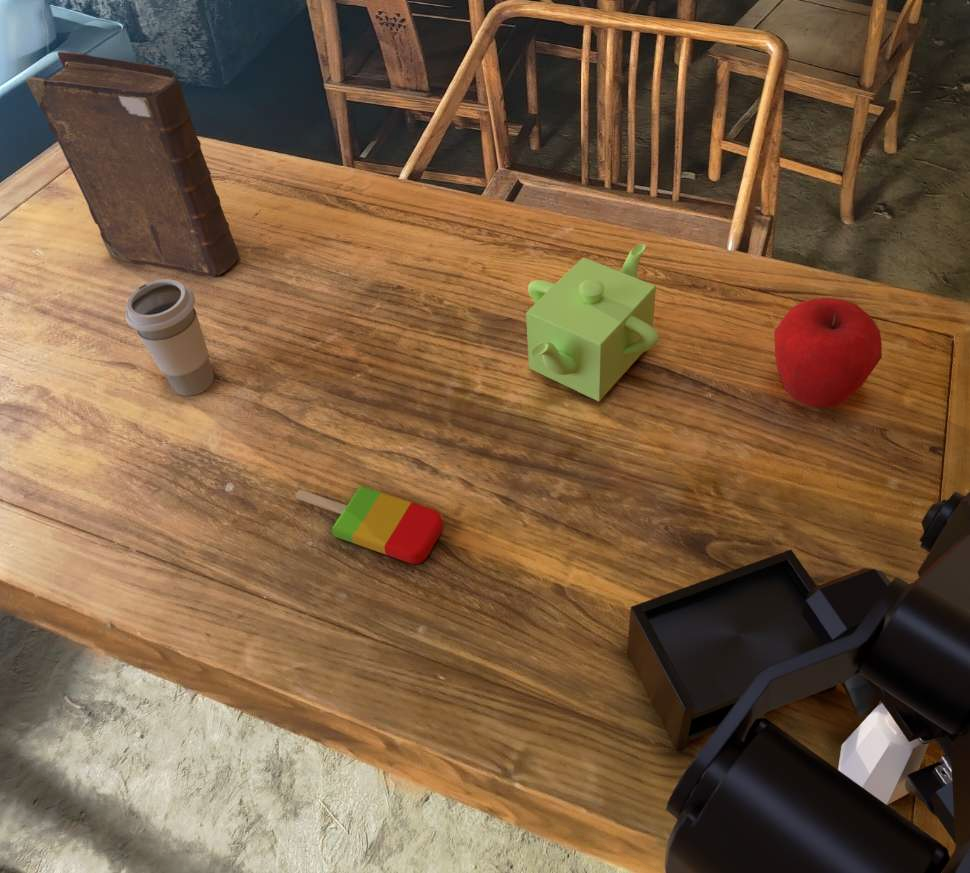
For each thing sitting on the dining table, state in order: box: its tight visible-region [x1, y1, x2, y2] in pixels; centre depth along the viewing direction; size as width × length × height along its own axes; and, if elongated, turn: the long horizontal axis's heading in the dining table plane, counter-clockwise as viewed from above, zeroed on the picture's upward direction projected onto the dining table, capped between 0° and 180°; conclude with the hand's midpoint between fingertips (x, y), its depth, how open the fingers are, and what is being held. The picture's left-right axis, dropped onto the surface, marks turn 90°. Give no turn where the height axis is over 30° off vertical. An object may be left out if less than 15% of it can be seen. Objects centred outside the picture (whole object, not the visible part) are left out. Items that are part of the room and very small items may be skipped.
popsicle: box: [294, 485, 444, 565], centre depth 87 cm, size 6×15×2 cm, turn 66°
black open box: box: [626, 549, 839, 752], centre depth 73 cm, size 9×14×8 cm, turn 110°
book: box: [26, 50, 240, 278], centre depth 108 cm, size 17×7×25 cm, turn 64°
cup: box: [125, 278, 215, 397], centre depth 98 cm, size 7×7×12 cm
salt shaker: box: [837, 702, 930, 806], centre depth 65 cm, size 5×5×11 cm
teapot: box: [525, 243, 660, 402], centre depth 96 cm, size 15×13×11 cm
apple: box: [773, 297, 883, 409], centre depth 90 cm, size 10×10×11 cm
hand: (888, 750), depth 67 cm, fingers closed on salt shaker, 6 cm apart
